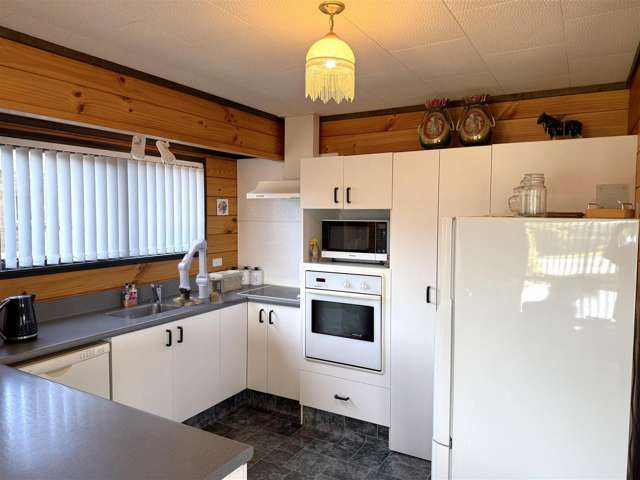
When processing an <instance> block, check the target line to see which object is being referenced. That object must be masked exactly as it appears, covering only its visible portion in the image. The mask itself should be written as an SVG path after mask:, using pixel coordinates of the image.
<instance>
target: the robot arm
mask: <svg viewBox="0 0 640 480" xmlns="http://www.w3.org/2000/svg"><path fill="white" fill-rule="evenodd" d="M197 251H198V261H199V262H198V266H199V268H198V269H199V273H198V274H197V275H196V279H195V284H196V285H197V286H198V292H199V293H198V295H199V296H197V299H199V300H204V299H210V298H209V283H208V282H209V281H210V280H211V278H210V275H209V274H210V273H208V271H207V269H208V268H207V251H208V241H207V240H206V239H205V238H203V239H194V238H193V239H192V240H191V242H190V248H189V250H188V253H186V254H185V255H184V257H183V258H182V260H181V262H179V263H178V264H177V270H178V273H179V279H180V280H179V281H180V284H179V286H178V291H179V292H180V295H181V294H184V295H185V300H188V299H189V295H190V296H191V292H192V289H191V286H190V277H189V275H190V274H189V270H190V269H191V263H192V261H193V259H194V257H193V256H194V255H195V253H196V252H197Z"/></svg>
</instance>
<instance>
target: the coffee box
mask: <svg viewBox="0 0 640 480" xmlns="http://www.w3.org/2000/svg"><path fill="white" fill-rule="evenodd" d="M208 283H209V298H208V299H209V304H210V305H223V304H225V302H226V300H225V292H224V280H210V281H209V282H208Z"/></svg>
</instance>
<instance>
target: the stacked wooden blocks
mask: <svg viewBox="0 0 640 480" xmlns="http://www.w3.org/2000/svg"><path fill="white" fill-rule="evenodd" d="M180 297H181V299H178V303H177V304H178V306H184V302H186V301H193V300H195V299H194V298H195V297H193V298H192V299H190V297H191V294H190V295H189V299H188V300H185V295H184V294H181V293H180Z"/></svg>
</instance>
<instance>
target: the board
mask: <svg viewBox="0 0 640 480" xmlns="http://www.w3.org/2000/svg"><path fill="white" fill-rule="evenodd" d="M192 298H194V299H195V300H193V301H186V302H184V305H183V306H184V307H189V306H190V305H191V306H195V304H197V305H202V303H203V304H204V302H203V299H200V298H195V297H193V296H190V299H192ZM178 299H181V296H179V297H174V298H172V301H173V302H174V301H175V302H174V303H176V302H177V303H176V304H178ZM191 306H190V307H191Z"/></svg>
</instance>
